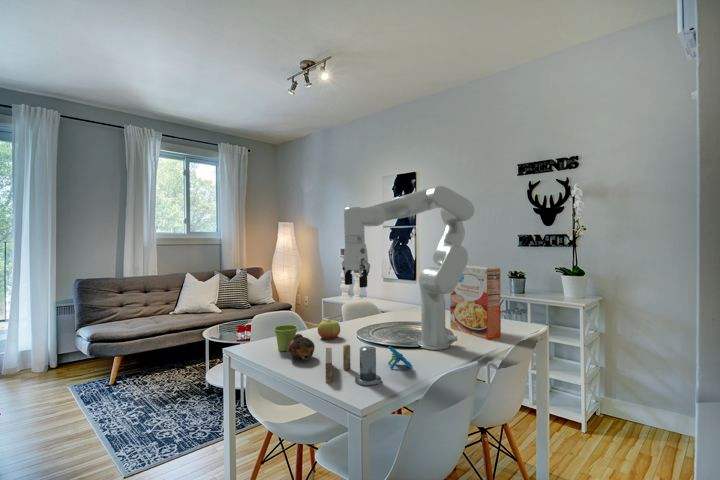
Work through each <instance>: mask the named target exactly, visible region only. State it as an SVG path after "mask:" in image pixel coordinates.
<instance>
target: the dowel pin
mask: <svg viewBox="0 0 720 480" xmlns="http://www.w3.org/2000/svg"><path fill="white" fill-rule="evenodd" d="M342 355H343V356H342V361H343V363H342V364H343V371H350V370H351V369H352V367H351V366H352V364H351V344H346V343H345V344H343V345H342Z"/></svg>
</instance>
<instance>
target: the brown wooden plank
mask: <svg viewBox="0 0 720 480" xmlns="http://www.w3.org/2000/svg"><path fill="white" fill-rule="evenodd" d="M332 350H333V348H332V347H325V383H326V384H328V383H329V382H330V383H333V351H332ZM330 383H329V384H330Z"/></svg>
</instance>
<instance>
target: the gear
mask: <svg viewBox="0 0 720 480" xmlns="http://www.w3.org/2000/svg"><path fill="white" fill-rule="evenodd" d="M387 348H388V349H389V350H390V352H391V359H390V360H389V361H388V365H390V366H389V368H390V369H391V370H393V368H395V366H396V365H397V364H398V363H399V362H400V361H401V362H403V364H405V365H406V366H407V367H408V368H412V367H413V364H412V363H411V362H410V361H409V360H407V358H405V357H404V354H403V353H400V352H399V351H397V350H396V349H395V348H394V347H392V346H391V345H389V346H388V347H387ZM392 362H393V363H392Z"/></svg>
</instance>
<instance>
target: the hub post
mask: <svg viewBox="0 0 720 480" xmlns="http://www.w3.org/2000/svg"><path fill="white" fill-rule="evenodd" d="M354 381H355V383H356V385H359V386H363V387H371V386H372V387H373V385H374V386H377V385H379V384H380V383H381V381H382V377H381V376H380V375H378V374H377V348H376V347H374V346H370V345H369V346H368V345H366V346H361V347H360V348H359V374H358V375H356V376H355V377H354Z"/></svg>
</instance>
